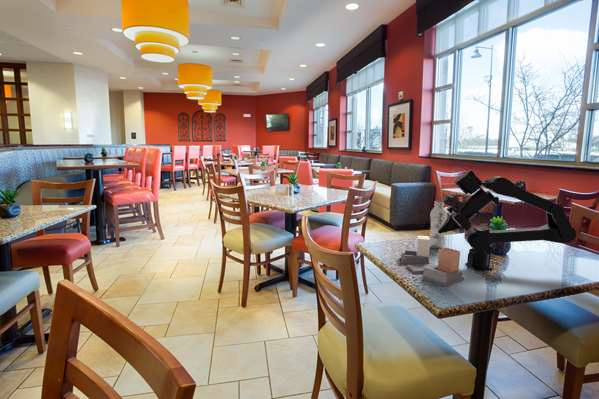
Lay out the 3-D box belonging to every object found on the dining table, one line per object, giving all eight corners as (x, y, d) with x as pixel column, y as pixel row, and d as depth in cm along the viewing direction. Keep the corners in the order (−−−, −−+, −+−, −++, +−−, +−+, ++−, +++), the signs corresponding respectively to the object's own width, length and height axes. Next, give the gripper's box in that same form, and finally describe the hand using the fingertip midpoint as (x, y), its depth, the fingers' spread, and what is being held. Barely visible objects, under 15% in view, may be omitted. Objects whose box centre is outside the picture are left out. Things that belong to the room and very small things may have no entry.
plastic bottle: (434, 251, 141) (438, 203, 138) (424, 246, 148) (427, 200, 145) (448, 249, 143) (451, 202, 140) (437, 245, 149) (440, 200, 147)
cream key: (427, 257, 129) (428, 236, 128) (428, 261, 124) (430, 239, 123) (416, 256, 130) (417, 235, 129) (416, 260, 125) (418, 238, 124)
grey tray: (423, 255, 135) (424, 246, 134) (473, 285, 106) (474, 272, 105) (391, 257, 133) (392, 247, 132) (433, 287, 104) (434, 275, 103)
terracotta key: (444, 270, 115) (445, 247, 113) (458, 275, 111) (460, 251, 109) (436, 273, 112) (438, 249, 111) (451, 277, 108) (452, 253, 107)
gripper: (454, 184, 129) (421, 211, 134) (463, 190, 112) (425, 221, 116) (475, 206, 128) (441, 232, 133) (488, 215, 111) (448, 245, 115)
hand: (438, 232), depth 124 cm, fingers closed
